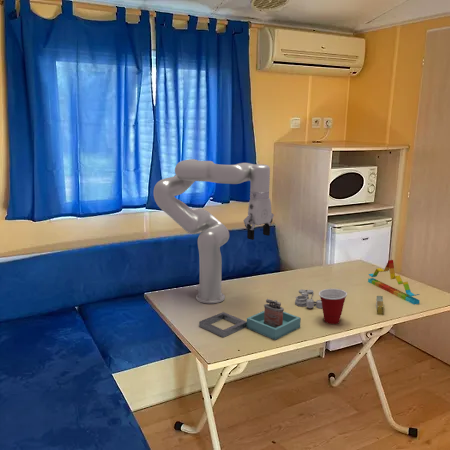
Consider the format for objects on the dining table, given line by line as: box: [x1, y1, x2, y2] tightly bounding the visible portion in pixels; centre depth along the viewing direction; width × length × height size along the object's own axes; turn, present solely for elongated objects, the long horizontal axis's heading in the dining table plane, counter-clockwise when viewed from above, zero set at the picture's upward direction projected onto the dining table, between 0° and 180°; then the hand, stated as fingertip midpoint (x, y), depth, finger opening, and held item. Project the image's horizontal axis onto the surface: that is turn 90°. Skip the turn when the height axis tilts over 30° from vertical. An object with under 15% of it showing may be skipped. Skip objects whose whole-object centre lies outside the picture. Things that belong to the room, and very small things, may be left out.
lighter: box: [263, 298, 285, 328], centre depth 181 cm, size 8×3×10 cm, turn 53°
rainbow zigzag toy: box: [367, 259, 420, 306], centre depth 218 cm, size 30×3×15 cm, turn 22°
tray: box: [246, 310, 301, 341], centre depth 182 cm, size 14×15×4 cm
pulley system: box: [294, 288, 322, 309], centre depth 206 cm, size 27×5×15 cm
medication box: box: [375, 295, 385, 316], centre depth 200 cm, size 12×3×4 cm, turn 164°
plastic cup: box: [318, 288, 348, 325], centre depth 187 cm, size 11×11×12 cm
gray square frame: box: [198, 311, 247, 338], centre depth 182 cm, size 13×13×2 cm
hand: (258, 237), depth 195 cm, fingers open, 9 cm apart
